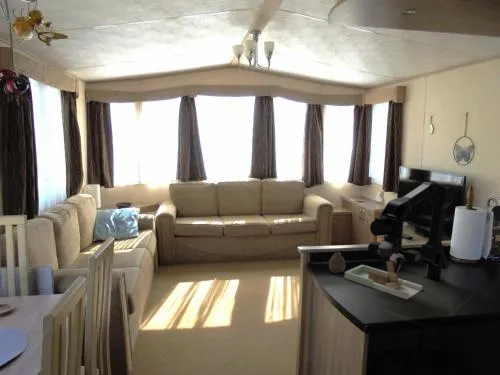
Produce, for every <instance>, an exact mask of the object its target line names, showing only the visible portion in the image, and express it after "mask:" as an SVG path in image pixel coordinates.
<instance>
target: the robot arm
mask: <svg viewBox="0 0 500 375" xmlns="http://www.w3.org/2000/svg"><path fill="white" fill-rule="evenodd" d="M428 196H429V201H430V204H431V206H432V213H431V220H430V227H429V232H428V240H427V242H425V243H424V244H422V245H421V251H417V250H413V249H409V250H403V248H404V246H403V239H405V237H404V234H403V233H404V223H408V222H409V220H408V219H407V218H406V216H408V215H409V213H410V212H411V211H412V208H413V207H414V206H416V204H418V203H420V202H421V201H423V200H424V199H425V198H427V197H428ZM454 197H455V192H454V190H453V189H452V188H451V187H447V186H442V185H439V184H437V183H436V182H430V181H424V182H422V183H421V184H420V185H419V186H418V187H416V188H414V189H413V190H411V191H410V192H409V193H407V194H406V195H403V196H402V197H397V198H393V199H391V200H389V201H388V202H387V203H386V206H385V207H384V208H383V210H382V212H381V213H380V214H379V217H374V221H372V222H371V223H370V225H369V230H370V233H371V234H372V235H373V236H374V237H378V236H384V240H383V241H382V242H378V241H373V242H370V243H368V245H367V250H368V251H370V252H377V255H378V256H380V257H381V260H382V261H383V265H384V268H385V272H388V270H387V264H386V261H388V260H390V257H391V256H392V254H398V257H397V258H396V268H395V274H398V273H399V271H400V269H401V267H402V265H403V264H404V262H405V261H409V262H413V263H414V262H417V261H418V260H421V258H422V263H424V264H426V265H427V266H426V274H425V276H423V278H424V279H428V280H431V281H435V282H438V283H441V282H442V281H443V280H445V277H442V275H443V270H446V269H447V268H449V264H450V261H449V260H448V259H447V258H446V256H445V254H446V252H445V251H446V250H445V248H444V245H443V244H442V243H443V242H442V241H443V234H444V229H445V222H446V221H445V220H446V214H447V209H448V208H449V207H450V206H451V204H452V203H453V200H454Z"/></svg>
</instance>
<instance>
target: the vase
mask: <svg viewBox="0 0 500 375" xmlns="http://www.w3.org/2000/svg"><path fill="white" fill-rule="evenodd" d="M328 268H329V270H330V272H331V273H333V274H334V275H335V274H338V273H339V274H340V273H344V272H345V269H346V260H345V259H344V257H343V256H342V253H341V252H335V253H334V254H333V255H332V256H331V258H330V259H329V262H328Z"/></svg>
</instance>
